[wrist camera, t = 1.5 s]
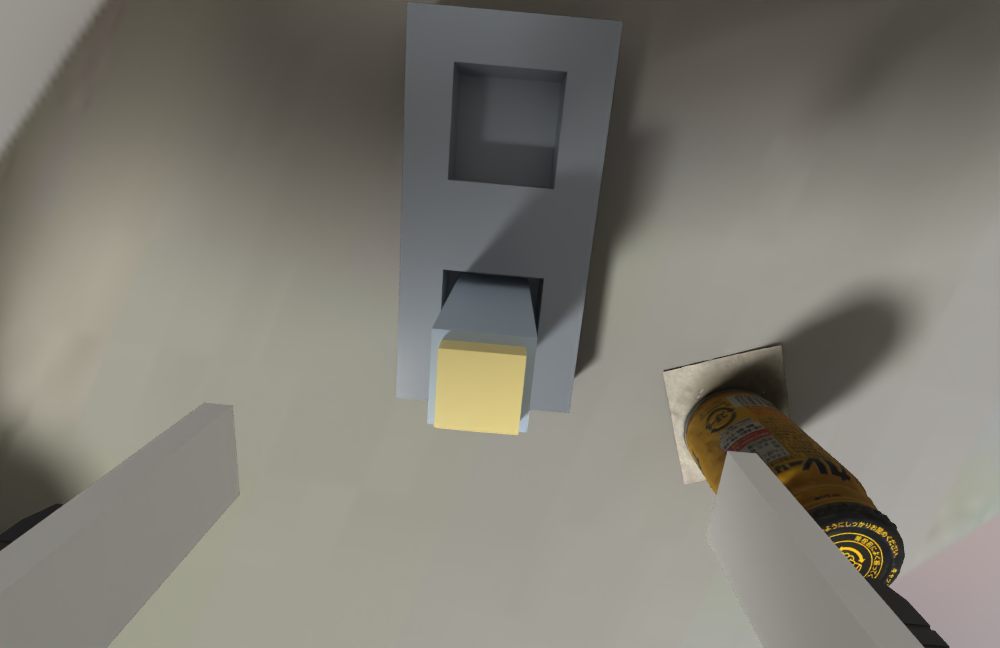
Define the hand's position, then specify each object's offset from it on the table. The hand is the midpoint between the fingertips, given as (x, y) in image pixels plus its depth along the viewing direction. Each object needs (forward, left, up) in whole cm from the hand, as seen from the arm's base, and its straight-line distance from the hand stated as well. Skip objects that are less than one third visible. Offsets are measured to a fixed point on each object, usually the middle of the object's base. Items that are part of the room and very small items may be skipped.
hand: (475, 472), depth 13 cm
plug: (0, 0, -17) cm, 17 cm away
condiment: (+16, -6, -18) cm, 25 cm away
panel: (0, +5, -18) cm, 19 cm away
